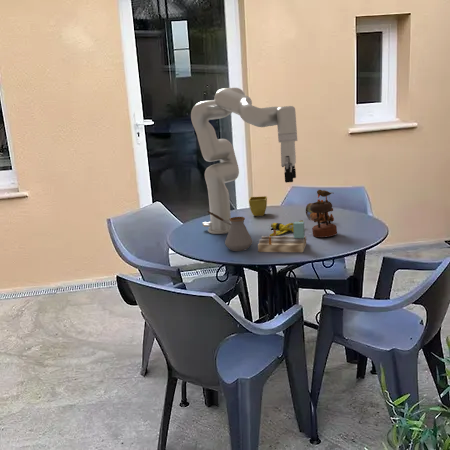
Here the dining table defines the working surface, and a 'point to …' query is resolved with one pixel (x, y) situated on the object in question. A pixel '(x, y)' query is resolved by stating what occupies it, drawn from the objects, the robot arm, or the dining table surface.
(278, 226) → the yellow action figure
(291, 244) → the console
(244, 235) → the coffee pot
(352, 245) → the dining table surface
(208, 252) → the dining table surface
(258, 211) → the flower pot
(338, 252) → the dining table surface
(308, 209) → the tin
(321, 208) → the music box
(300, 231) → the fader
